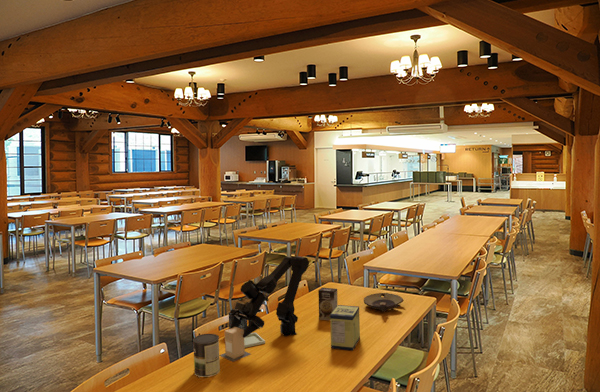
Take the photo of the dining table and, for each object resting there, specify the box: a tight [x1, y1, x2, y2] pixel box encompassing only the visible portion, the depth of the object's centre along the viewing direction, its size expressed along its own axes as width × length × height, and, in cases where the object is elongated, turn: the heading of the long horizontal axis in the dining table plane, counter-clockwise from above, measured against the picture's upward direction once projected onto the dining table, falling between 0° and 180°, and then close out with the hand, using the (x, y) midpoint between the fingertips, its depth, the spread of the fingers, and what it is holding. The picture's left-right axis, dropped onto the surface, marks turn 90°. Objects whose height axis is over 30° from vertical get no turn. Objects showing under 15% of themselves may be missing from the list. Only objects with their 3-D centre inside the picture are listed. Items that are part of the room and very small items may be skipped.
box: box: [228, 311, 248, 332], centre depth 220 cm, size 8×6×11 cm
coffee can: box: [192, 333, 221, 378], centre depth 177 cm, size 10×10×14 cm
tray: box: [244, 331, 266, 349], centre depth 207 cm, size 12×12×2 cm
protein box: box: [329, 304, 361, 351], centre depth 202 cm, size 10×16×16 cm
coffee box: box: [318, 287, 338, 321], centre depth 236 cm, size 9×6×16 cm
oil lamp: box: [363, 292, 404, 312], centre depth 250 cm, size 22×30×8 cm
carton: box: [224, 327, 246, 359], centre depth 192 cm, size 6×6×11 cm
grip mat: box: [219, 351, 252, 363], centre depth 193 cm, size 10×10×1 cm
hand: (236, 334), depth 193 cm, fingers open, 9 cm apart
